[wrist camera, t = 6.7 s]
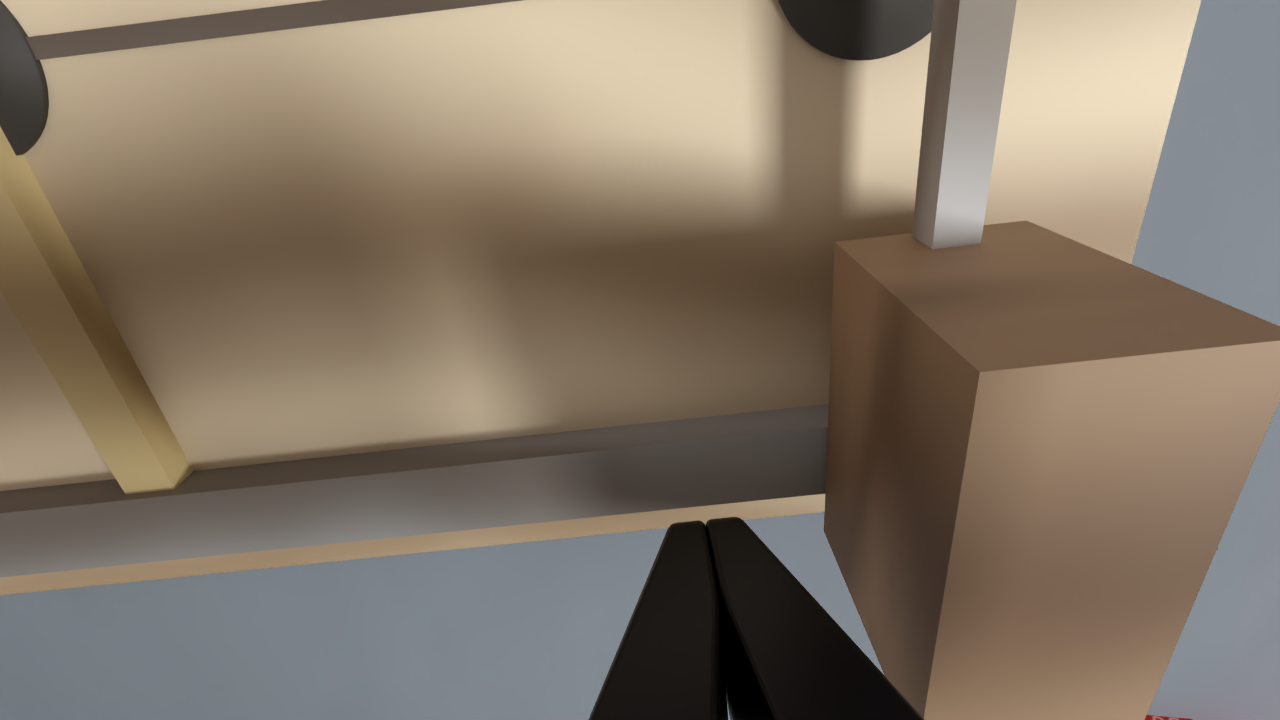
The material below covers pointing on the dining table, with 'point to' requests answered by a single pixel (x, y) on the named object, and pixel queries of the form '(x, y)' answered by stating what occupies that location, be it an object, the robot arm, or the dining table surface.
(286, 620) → the dining table surface
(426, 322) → the gauge board
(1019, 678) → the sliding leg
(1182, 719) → the white dome
